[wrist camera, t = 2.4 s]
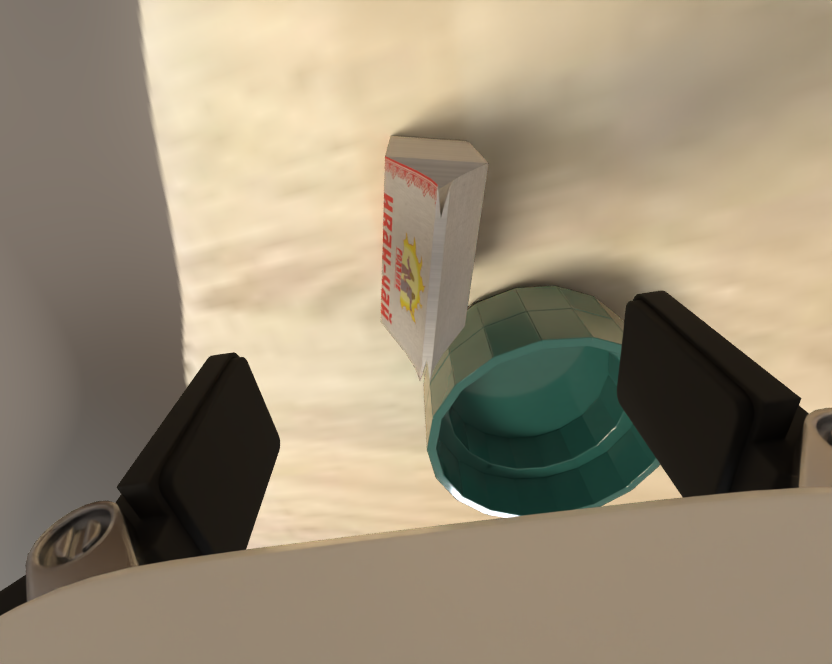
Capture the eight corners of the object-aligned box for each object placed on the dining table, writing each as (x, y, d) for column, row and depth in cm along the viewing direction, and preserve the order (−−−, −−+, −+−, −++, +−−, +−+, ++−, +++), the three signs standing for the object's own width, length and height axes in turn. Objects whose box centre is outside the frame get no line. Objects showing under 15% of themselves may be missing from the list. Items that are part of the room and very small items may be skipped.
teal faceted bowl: (389, 331, 26) (385, 395, 21) (609, 246, 23) (666, 295, 18) (463, 466, 32) (474, 542, 27) (642, 411, 29) (692, 483, 24)
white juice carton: (467, 141, 20) (512, 189, 12) (452, 272, 24) (478, 383, 15) (390, 135, 20) (378, 180, 12) (386, 268, 24) (374, 379, 15)
